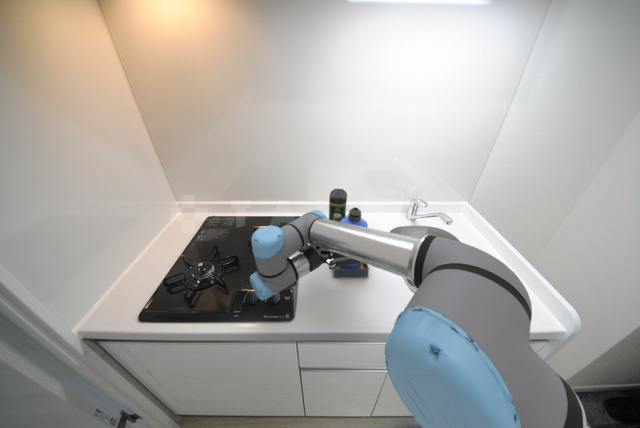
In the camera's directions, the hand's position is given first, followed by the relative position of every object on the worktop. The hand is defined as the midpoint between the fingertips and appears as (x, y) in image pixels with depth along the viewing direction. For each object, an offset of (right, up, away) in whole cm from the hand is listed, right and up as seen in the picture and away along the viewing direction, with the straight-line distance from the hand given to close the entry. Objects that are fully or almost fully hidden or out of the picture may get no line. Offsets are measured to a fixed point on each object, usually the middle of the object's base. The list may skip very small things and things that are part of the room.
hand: (353, 232), depth 73 cm
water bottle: (0, -13, +8) cm, 15 cm away
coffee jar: (-4, +1, +30) cm, 30 cm away
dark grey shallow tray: (0, -10, +14) cm, 17 cm away
